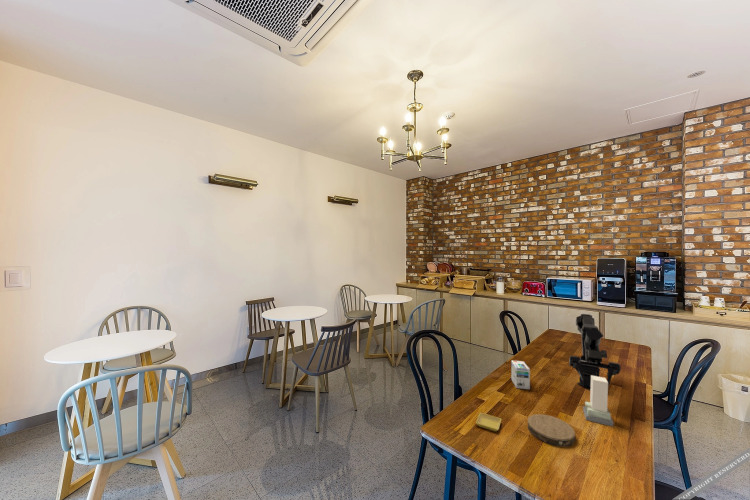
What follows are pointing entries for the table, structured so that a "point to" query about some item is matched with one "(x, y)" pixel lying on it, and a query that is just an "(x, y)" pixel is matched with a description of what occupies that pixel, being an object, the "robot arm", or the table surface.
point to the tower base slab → (597, 419)
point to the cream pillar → (599, 393)
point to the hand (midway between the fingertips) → (595, 382)
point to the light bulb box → (520, 374)
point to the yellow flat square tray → (488, 422)
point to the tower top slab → (597, 412)
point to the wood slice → (551, 430)
